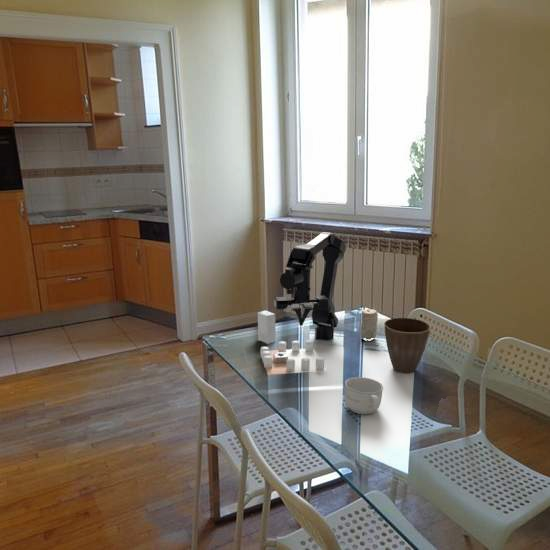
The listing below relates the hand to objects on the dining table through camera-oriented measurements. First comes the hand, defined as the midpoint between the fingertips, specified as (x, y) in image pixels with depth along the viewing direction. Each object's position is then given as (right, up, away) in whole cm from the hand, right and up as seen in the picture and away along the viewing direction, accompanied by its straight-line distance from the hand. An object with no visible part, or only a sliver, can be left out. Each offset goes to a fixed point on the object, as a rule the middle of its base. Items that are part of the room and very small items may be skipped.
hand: (300, 325), depth 182 cm
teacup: (+16, -22, -35) cm, 44 cm away
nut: (-7, -12, -3) cm, 14 cm away
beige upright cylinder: (+27, -8, +20) cm, 35 cm away
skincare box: (-12, -8, +16) cm, 22 cm away
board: (-3, -13, -2) cm, 14 cm away
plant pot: (+35, -15, -6) cm, 38 cm away
